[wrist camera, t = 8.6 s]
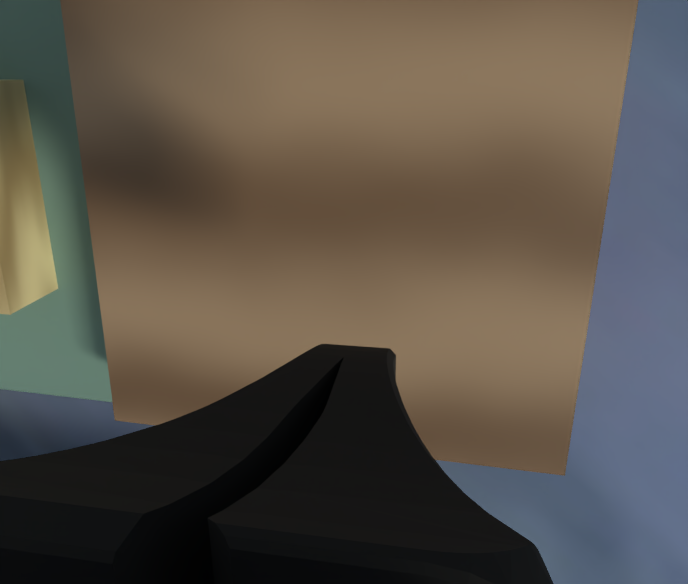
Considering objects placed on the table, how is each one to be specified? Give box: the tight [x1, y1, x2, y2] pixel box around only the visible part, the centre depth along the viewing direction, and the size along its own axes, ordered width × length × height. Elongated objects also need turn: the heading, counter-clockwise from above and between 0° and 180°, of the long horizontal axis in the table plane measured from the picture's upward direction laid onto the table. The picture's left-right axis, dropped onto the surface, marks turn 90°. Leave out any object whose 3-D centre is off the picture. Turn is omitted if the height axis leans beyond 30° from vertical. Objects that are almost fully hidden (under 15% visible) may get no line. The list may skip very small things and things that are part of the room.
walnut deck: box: [60, 0, 638, 475], centre depth 18 cm, size 14×14×3 cm
